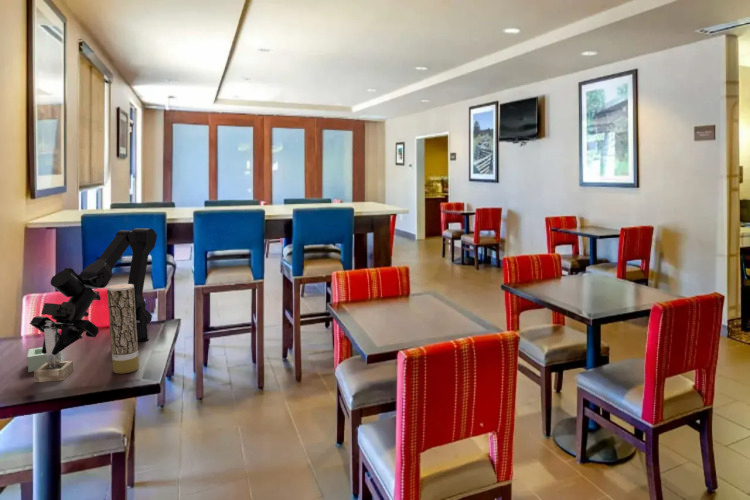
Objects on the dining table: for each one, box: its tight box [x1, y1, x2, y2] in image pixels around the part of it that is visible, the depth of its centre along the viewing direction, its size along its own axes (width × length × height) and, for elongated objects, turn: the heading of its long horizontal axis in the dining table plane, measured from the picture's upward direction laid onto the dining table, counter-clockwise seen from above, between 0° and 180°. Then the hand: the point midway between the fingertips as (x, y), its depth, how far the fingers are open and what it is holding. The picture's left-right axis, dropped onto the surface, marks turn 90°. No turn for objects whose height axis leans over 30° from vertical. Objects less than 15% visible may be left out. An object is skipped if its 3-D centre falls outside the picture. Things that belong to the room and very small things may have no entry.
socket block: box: [26, 346, 63, 373], centre depth 142 cm, size 8×8×4 cm
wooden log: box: [106, 283, 140, 375], centre depth 137 cm, size 7×7×25 cm
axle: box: [43, 327, 61, 370], centre depth 133 cm, size 3×3×14 cm
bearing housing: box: [33, 360, 74, 383], centre depth 134 cm, size 7×7×3 cm
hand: (48, 353), depth 132 cm, fingers closed on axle, 3 cm apart
